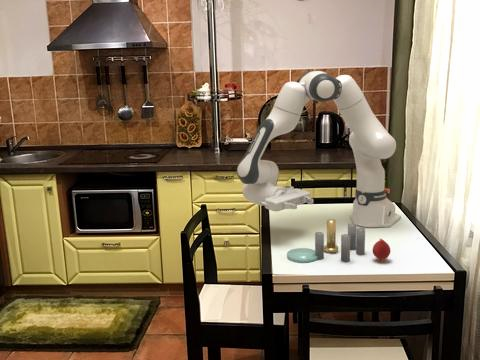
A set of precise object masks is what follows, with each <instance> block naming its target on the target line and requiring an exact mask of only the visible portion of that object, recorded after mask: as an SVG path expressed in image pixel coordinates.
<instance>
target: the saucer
mask: <svg viewBox="0 0 480 360" xmlns="http://www.w3.org/2000/svg"><path fill="white" fill-rule="evenodd" d="M286 258H287V259H288V260H289V261H291V262H295V263H299V264H307V263H313V262H315V261H317V260H318V259H317V256H316V255H315V249H312V248H307V247H297V248H292V249H290V250H288V251H287V252H286Z"/></svg>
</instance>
